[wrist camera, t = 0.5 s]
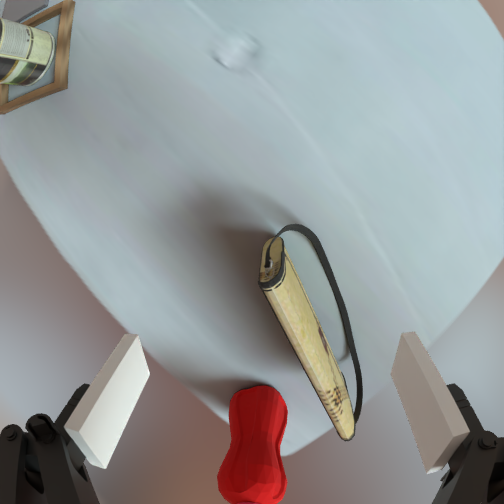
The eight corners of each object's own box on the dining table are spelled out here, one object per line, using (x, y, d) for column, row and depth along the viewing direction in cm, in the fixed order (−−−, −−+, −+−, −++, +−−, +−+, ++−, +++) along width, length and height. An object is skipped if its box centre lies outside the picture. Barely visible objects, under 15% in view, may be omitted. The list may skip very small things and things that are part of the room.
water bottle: (250, 424, 54) (238, 535, 30) (225, 390, 51) (200, 513, 27) (295, 414, 52) (297, 531, 28) (273, 377, 49) (267, 510, 25)
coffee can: (36, 94, 35) (-26, 91, 22) (8, 76, 33) (-48, 73, 20) (66, 38, 32) (7, 19, 18) (34, 26, 30) (-20, 11, 17)
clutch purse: (367, 365, 47) (388, 432, 33) (329, 379, 48) (340, 448, 34) (303, 203, 39) (320, 239, 25) (254, 225, 40) (243, 271, 26)
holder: (10, 36, 30) (4, 34, 28) (75, 2, 29) (68, -2, 27) (4, 114, 36) (-4, 114, 34) (67, 88, 35) (59, 87, 33)
